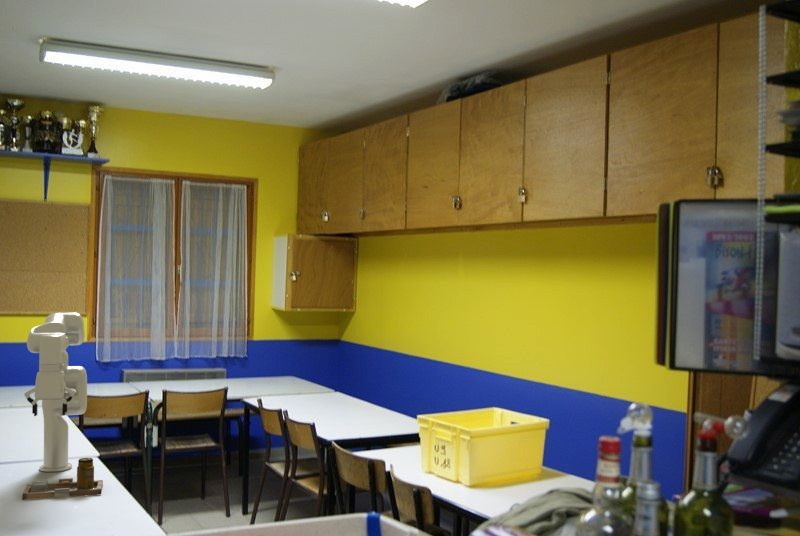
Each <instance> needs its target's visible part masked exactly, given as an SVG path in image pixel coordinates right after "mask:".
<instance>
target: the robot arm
mask: <svg viewBox="0 0 800 536" xmlns="http://www.w3.org/2000/svg"><path fill="white" fill-rule="evenodd" d="M85 336H86V335H85V323H84V318H83V316H82V315H81V314H80V313H77V312H53V313H50V314H48V316H46V317H45V320H44V323H42V324H39V325H37V326H34V327H33V328H32V329H30V330H29V332H28V336H27V339H26V347H27V350H28V351H29V352H30V353H32V354H39V362H38V363H39V365H38V369H39V370H38V372H37V373H36V378H35V387H33V388H31V389H30V390H27V391H26V392H24V394H23V395H24V397H25V398H26V400H27V402H29V404H31V406H32V409H31V413H32V414H33V417H36V416H38V404H37V403H38V402H39V401H41V408H42V409H41V411H42V414H43V464H41V465H39V471H41V472H44V473H45V472H46V473H48V472H49V473H53V472H54V473H55V472H56V473H57V472H62V471H67V470H71V469H72V467H73V465H72V463H71V462H69V425H68V422H67V421H66V419H64V416H79V415H80V416H81V415H84V414H85V413H86V412H87V407H88V375H87V371H86V368H85V367H83V366H81V365H71V366H70V365H69V354H68V352H67V349H68V347H69V346H80V345H82V344H83V343H84V342H85ZM33 393H34V398H32V397H31V394H33Z"/></svg>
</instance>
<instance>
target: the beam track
mask: <svg viewBox="0 0 800 536" xmlns="http://www.w3.org/2000/svg"><path fill="white" fill-rule="evenodd" d="M73 479H74V478H73V477H70V478H58V482H51V483H50V482H49V483H48V480H44V481H32V483H30V484H26V487H25V488H24V490H23V491H22V495H21V498H22V499H21V500H24V501H26V500H37V499H38V500H40V499H52V498H53V499H66V498H65V497H68V498H70V497H83V496H85V495H88V496H98V495H97V494H101V495H102V492H103V491H102V490H103V486H104V481H103V479H98V480H97V479H96V480H94V488H95V489H80V490H74V489H76V488H77V481H74V480H73ZM96 486H97V487H96ZM49 489H51V490H50V491H49ZM52 490H53V491H52ZM85 497H86V496H85Z"/></svg>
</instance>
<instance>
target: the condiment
mask: <svg viewBox="0 0 800 536" xmlns="http://www.w3.org/2000/svg"><path fill="white" fill-rule="evenodd" d="M94 481H95V466H94V458H92V457H82V458H79V459H78V463H77V466H76V482H77V488H73V490H80V489H93V488H95V487H94Z"/></svg>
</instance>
